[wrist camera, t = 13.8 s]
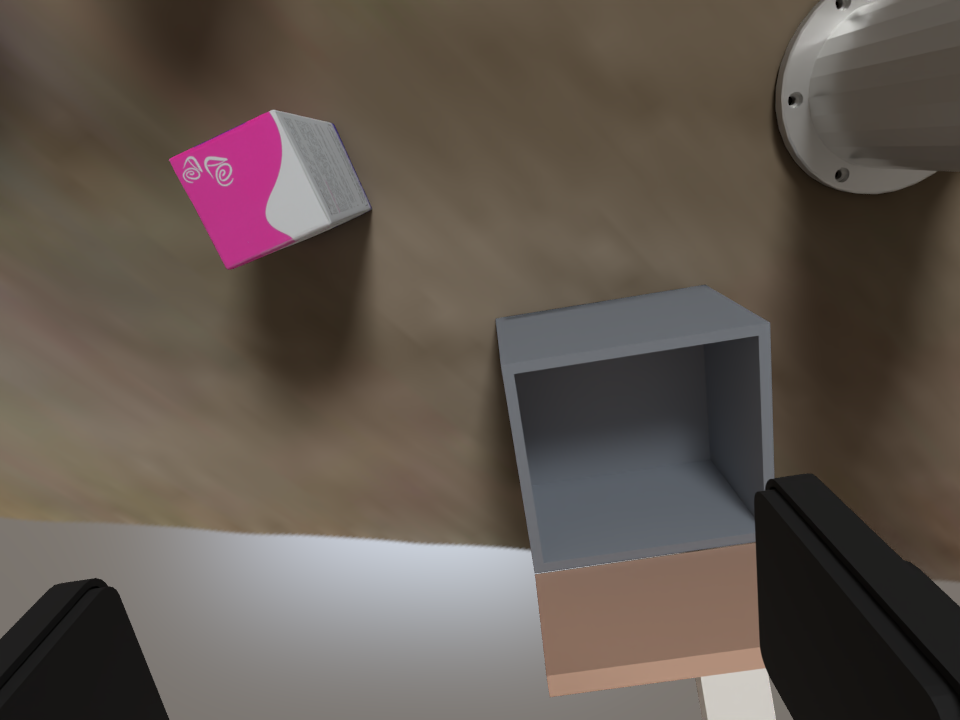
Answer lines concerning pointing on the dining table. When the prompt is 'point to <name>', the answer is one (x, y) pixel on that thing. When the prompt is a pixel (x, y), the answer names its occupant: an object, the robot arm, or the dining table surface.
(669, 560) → the lid
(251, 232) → the supplement box
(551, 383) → the carton
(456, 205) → the dining table surface
